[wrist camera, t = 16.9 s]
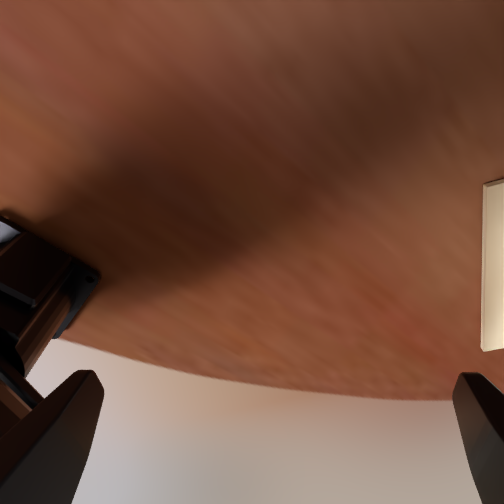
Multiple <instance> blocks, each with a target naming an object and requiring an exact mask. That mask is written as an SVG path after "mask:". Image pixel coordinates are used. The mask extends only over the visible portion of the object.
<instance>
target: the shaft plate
mask: <svg viewBox="0 0 504 504" xmlns="http://www.w3.org/2000/svg"><path fill="white" fill-rule="evenodd" d="M481 348H482V350H483V351H484V352H485V351H490V350H495V349H501V348H504V179H502V180H498V181H494V182H490V183H486V184H483V234H482V301H481Z"/></svg>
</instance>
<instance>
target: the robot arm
mask: <svg viewBox="0 0 504 504" xmlns="http://www.w3.org/2000/svg"><path fill="white" fill-rule="evenodd" d="M88 276H92V277H93V278H94V279H91V278H90V277H88ZM100 278H101V275H100V273H99V272H98V271H97V270H95V269H94V268H92V267H90V266H88V265H87V264H85V263H83V262H81V261H80V260H78V259H76V258H74V257H73V256H71V255H69V254H67V253H66V252H64V251H62V250H60V249H59V248H57V247H55V246H53V245H51V244H50V243H48V242H46V241H44V240H43V239H41V238H39V237H37V236H36V235H34V234H32V233H30V232H29V231H27V230H25V229H23V228H22V227H20V226H18V225H16V224H15V223H13V222H11V221H9V220H8V219H6V218H4V217H2V216H0V504H71V503H72V500H73V498H74V495H75V492H76V489H77V487H78V484H79V481H80V479H81V476H82V473H83V470H84V467H85V465H86V462H87V459H88V456H89V452H90V449H91V445H92V441H93V438H94V434H95V430H96V426H97V422H98V418H99V414H100V410H101V407H102V402H103V399H104V388H103V386H102V384H101V382H100V380H99V379H98V377H97V375H96V373H95V372H94V371H93V370H78V371H76V372H74V373H73V374H72V375H71V376H69V377H68V378H67V379H66V380H65V381H64V382H63V383H62V384H60V385H59V386H58V387H57V388H56V389H55V390H54V391H53V392H52V393H50V394H49V395H48V396H47V397H46V398H45V399H44V398H43V397H42V396H41V395H40V394H39V393H38V392H37V390H36V389H34V387H33V386H32V385H30V383H29V382H28V381H27V380H26V379H25V378H26V377H27V375H28V374H29V372H30V370H31V369H32V367H33V366H34V364H35V363H36V361H37V360H38V358H39V357H40V355H41V354H42V352H43V351H44V349H45V348H46V346H47V345H48V343H49V342H50V340H51V339H57V338H58V337H59V336H60V335H61V334H62V332H63V331H64V330H65V328H66V327H67V325H68V324H69V323H70V321H71V320H72V318H73V317H74V316H75V314H76V313H77V312H78V310H79V309H80V307H81V306H82V305H83V303H84V302H85V300H86V299H87V298H88V296H89V295H90V294H91V292H92V291H93V289H94V288H95V287H96V285H97V284H98V282H99V281H100ZM452 399H453V405H454V408H455V412H456V416H457V420H458V424H459V428H460V432H461V436H462V440H463V444H464V448H465V452H466V456H467V460H468V463H469V467H470V470H471V473H472V476H473V479H474V482H475V485H476V488H477V490H478V493H479V496H480V498H481V501H482V504H504V394H503V393H502V392H501V391H500V390H499V389H498V388H497V387H496V386H495V385H494V384H492V383H491V382H490V381H489V380H488V379H487V378H486V377H485V376H484V375H482V374H481V373H478V372H462V373H461V374H459V376H458V379H457V382H456V385H455V388H454V390H453V395H452Z"/></svg>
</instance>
